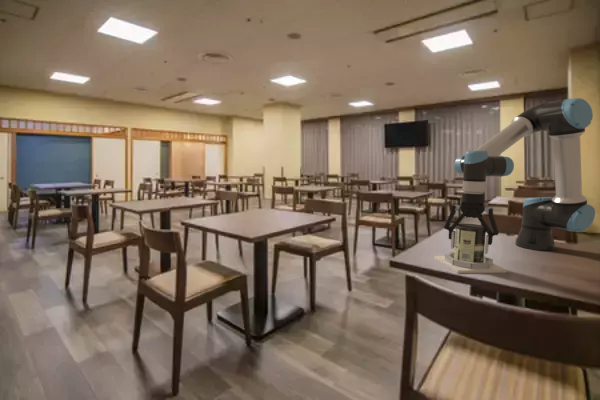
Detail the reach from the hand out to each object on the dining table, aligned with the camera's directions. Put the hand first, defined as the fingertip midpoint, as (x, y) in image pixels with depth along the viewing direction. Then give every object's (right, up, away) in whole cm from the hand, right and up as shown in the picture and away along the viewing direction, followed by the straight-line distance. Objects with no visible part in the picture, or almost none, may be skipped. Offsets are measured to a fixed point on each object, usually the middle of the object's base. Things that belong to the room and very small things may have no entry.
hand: (469, 250), depth 130 cm
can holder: (0, -6, +1) cm, 6 cm away
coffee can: (0, -5, +1) cm, 5 cm away
